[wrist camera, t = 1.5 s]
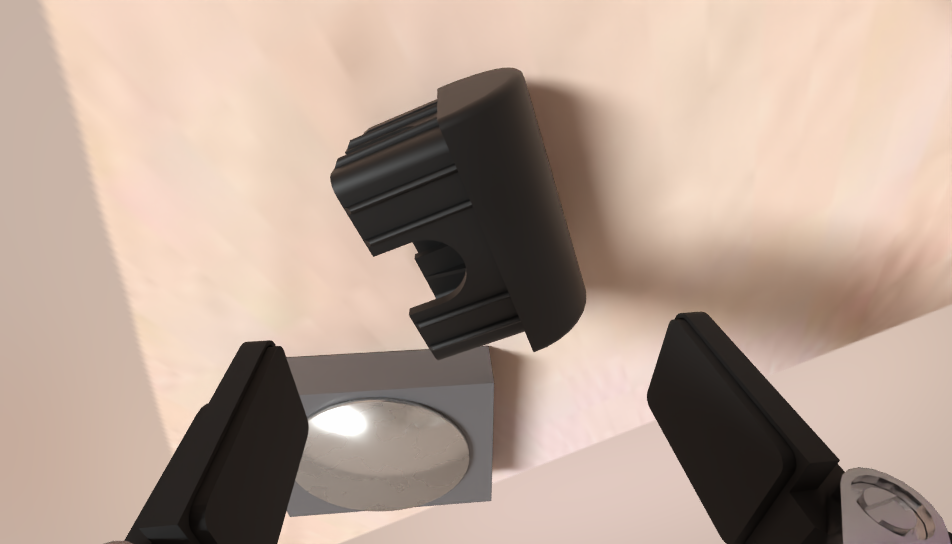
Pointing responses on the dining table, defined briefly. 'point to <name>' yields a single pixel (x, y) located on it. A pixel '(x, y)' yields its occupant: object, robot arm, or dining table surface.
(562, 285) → the end cap
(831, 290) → the dining table surface
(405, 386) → the grey domed push button
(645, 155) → the dining table surface
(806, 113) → the dining table surface
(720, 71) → the dining table surface
